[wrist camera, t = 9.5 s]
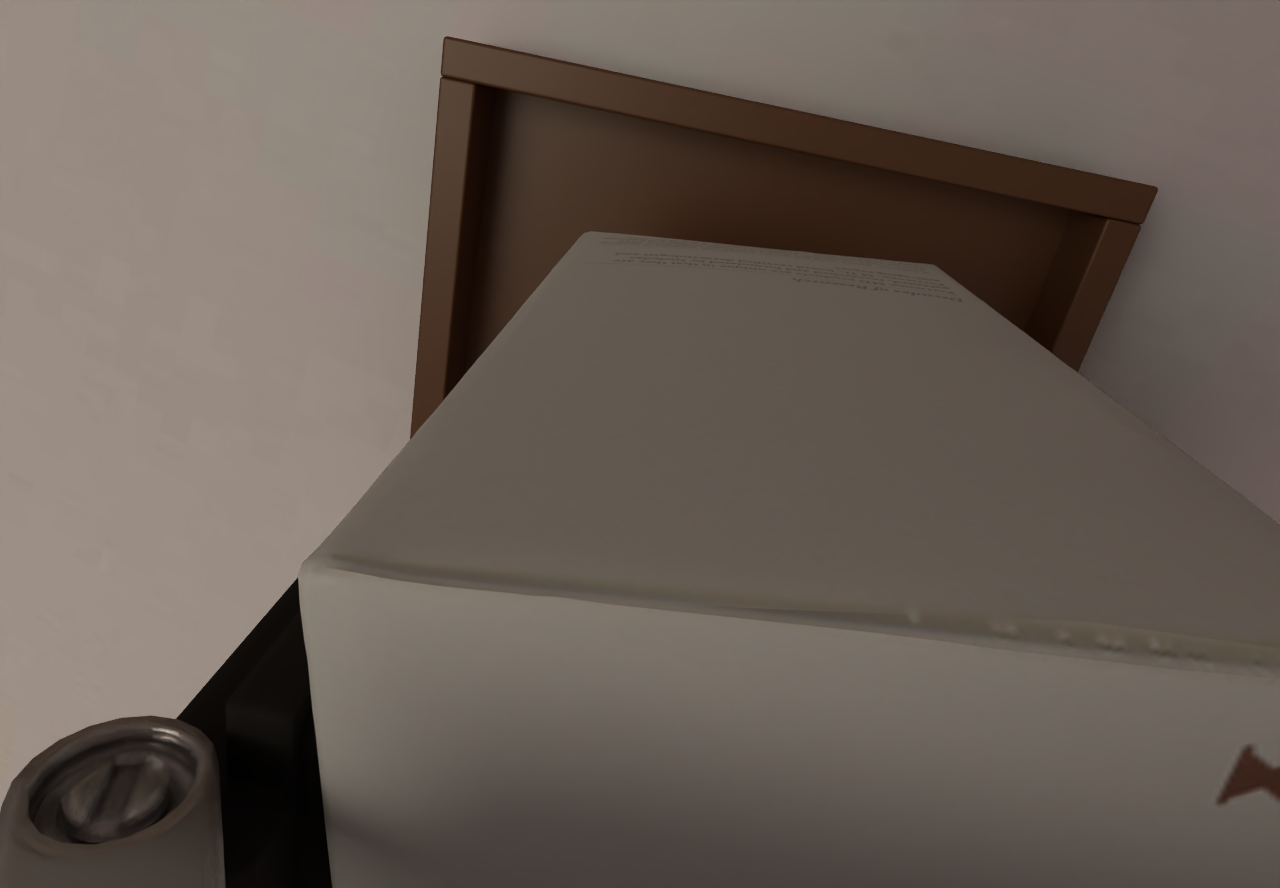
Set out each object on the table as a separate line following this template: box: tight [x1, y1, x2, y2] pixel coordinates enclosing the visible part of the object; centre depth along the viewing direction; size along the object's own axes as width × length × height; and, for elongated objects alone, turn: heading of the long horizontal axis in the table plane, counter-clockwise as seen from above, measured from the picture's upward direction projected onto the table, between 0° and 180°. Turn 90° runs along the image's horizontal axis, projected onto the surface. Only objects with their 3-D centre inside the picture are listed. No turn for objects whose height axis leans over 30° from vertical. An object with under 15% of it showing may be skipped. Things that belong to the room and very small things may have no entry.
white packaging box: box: [298, 231, 1280, 888], centre depth 12 cm, size 7×7×13 cm
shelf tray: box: [410, 36, 1158, 439], centre depth 21 cm, size 13×16×3 cm
